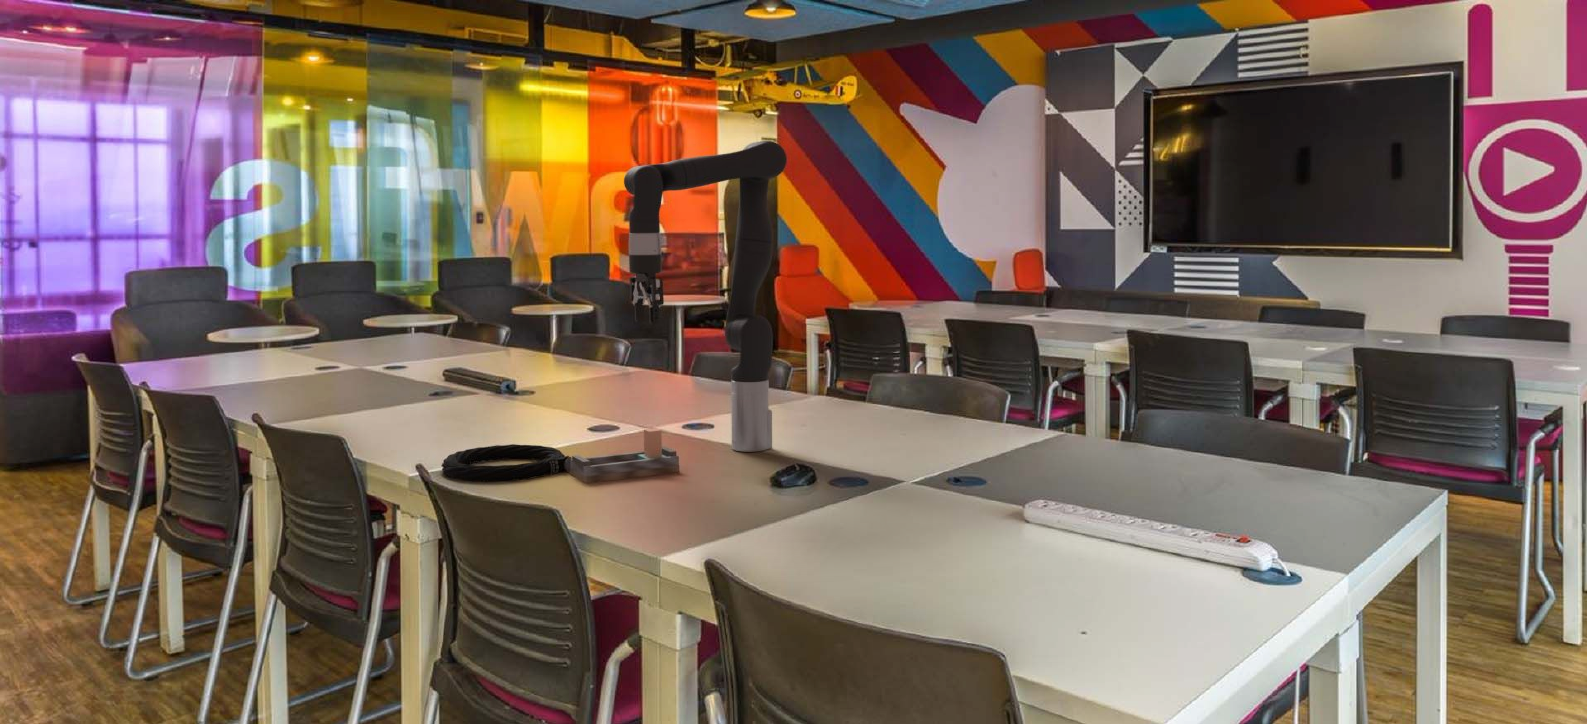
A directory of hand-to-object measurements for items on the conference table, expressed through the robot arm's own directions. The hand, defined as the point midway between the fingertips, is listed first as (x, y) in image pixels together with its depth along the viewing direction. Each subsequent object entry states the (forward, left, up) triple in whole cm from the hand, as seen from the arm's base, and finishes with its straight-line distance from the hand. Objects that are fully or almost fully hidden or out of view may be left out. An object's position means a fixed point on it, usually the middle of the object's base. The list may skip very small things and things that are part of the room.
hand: (647, 322), depth 268 cm
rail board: (+11, +12, -33) cm, 36 cm away
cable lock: (+32, -6, -33) cm, 46 cm away
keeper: (+4, +12, -31) cm, 33 cm away
